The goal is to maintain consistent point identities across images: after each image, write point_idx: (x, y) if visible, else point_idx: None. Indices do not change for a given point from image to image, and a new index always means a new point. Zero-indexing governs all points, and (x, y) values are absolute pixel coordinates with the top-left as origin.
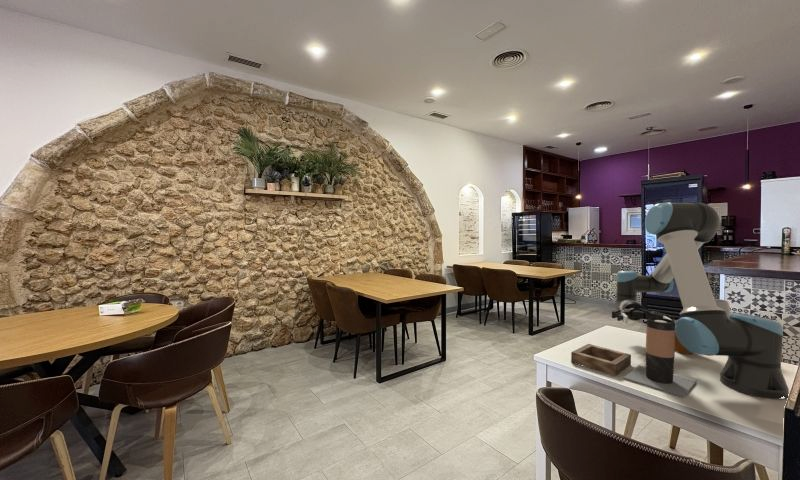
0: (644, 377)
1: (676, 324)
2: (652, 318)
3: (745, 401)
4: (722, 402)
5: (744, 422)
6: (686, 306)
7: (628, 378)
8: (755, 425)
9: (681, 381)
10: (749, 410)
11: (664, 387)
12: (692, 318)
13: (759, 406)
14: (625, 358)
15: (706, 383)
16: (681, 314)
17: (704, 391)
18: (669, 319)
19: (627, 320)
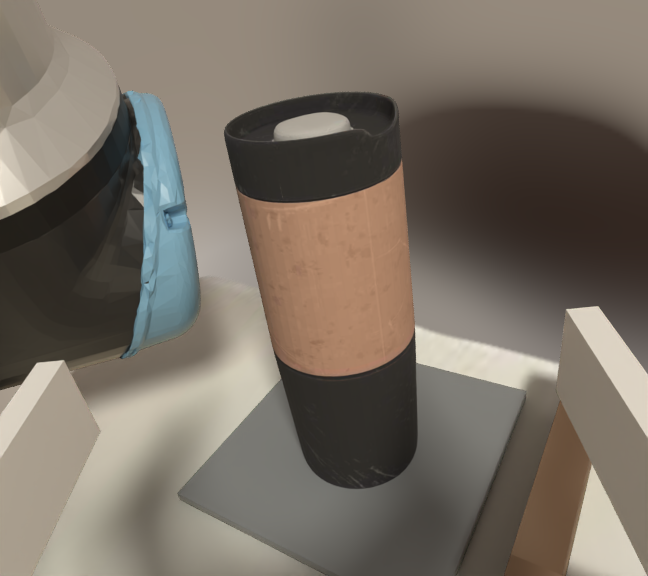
0: (427, 430)
1: (182, 194)
2: (343, 141)
3: (106, 401)
4: (201, 365)
5: (224, 292)
6: (51, 37)
7: (502, 389)
8: (207, 291)
9: (258, 458)
10: (153, 349)
11: None
12: (126, 93)
13: (91, 385)
14: (532, 488)
15: (127, 516)
16: (121, 111)
17: (205, 422)
18: (43, 382)
19: (564, 356)
